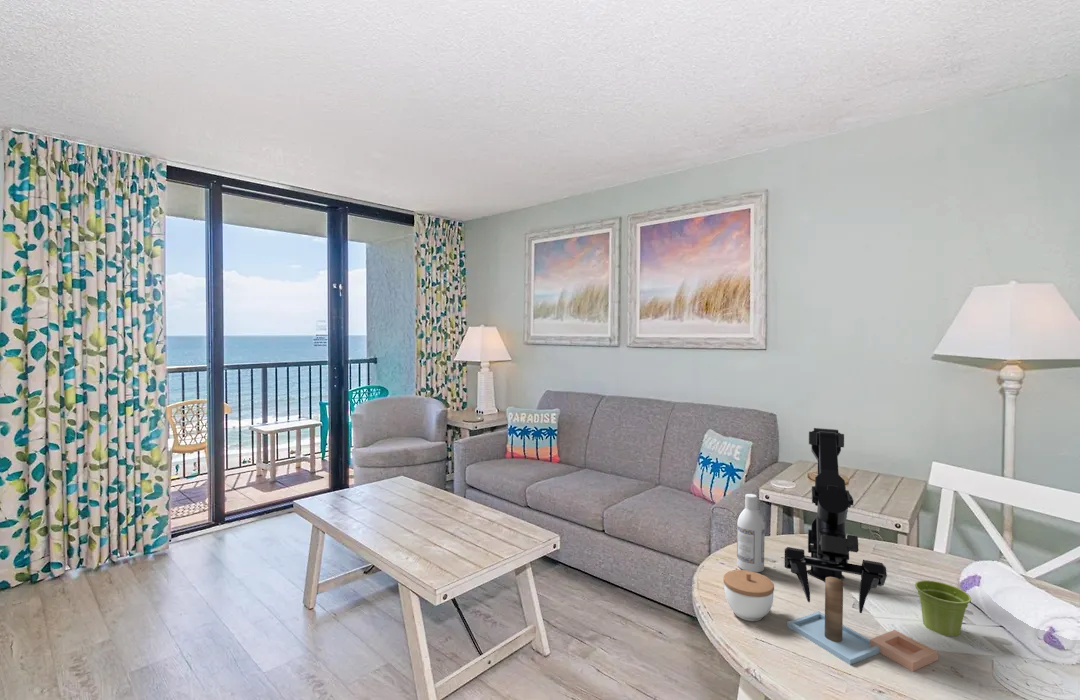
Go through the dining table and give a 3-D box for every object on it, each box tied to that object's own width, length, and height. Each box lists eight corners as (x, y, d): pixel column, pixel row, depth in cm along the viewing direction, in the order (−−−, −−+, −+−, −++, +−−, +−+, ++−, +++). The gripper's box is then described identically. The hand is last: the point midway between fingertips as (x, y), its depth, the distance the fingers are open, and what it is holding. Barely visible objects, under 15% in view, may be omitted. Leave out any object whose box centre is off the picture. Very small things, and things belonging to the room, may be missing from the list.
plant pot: (944, 617, 113) (944, 579, 113) (982, 643, 103) (983, 601, 103) (903, 618, 113) (904, 580, 112) (938, 644, 103) (939, 602, 103)
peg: (821, 633, 106) (822, 576, 105) (835, 632, 106) (836, 576, 106) (830, 642, 102) (831, 584, 102) (845, 641, 103) (846, 583, 102)
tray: (787, 629, 108) (787, 621, 108) (818, 618, 113) (818, 611, 113) (850, 668, 96) (850, 659, 96) (883, 654, 100) (883, 646, 100)
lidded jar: (735, 596, 122) (735, 558, 122) (781, 613, 114) (781, 573, 114) (714, 613, 115) (715, 573, 114) (762, 633, 107) (762, 590, 107)
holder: (869, 650, 101) (870, 639, 101) (894, 640, 104) (894, 629, 104) (912, 674, 94) (913, 662, 94) (937, 662, 97) (938, 651, 97)
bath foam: (754, 560, 141) (755, 490, 141) (769, 572, 135) (770, 498, 134) (731, 562, 140) (732, 492, 140) (745, 574, 134) (746, 500, 133)
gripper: (785, 511, 111) (783, 581, 102) (886, 525, 103) (895, 603, 93) (785, 533, 118) (783, 601, 109) (879, 548, 110) (887, 623, 100)
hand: (834, 606), depth 103 cm, fingers open, 9 cm apart
